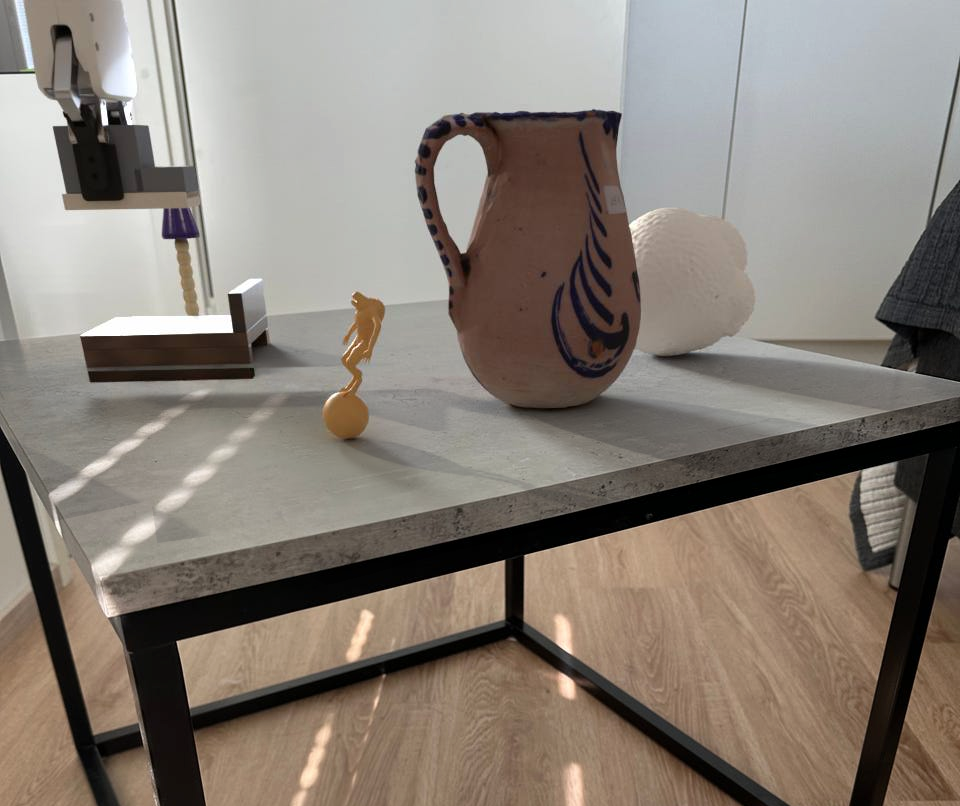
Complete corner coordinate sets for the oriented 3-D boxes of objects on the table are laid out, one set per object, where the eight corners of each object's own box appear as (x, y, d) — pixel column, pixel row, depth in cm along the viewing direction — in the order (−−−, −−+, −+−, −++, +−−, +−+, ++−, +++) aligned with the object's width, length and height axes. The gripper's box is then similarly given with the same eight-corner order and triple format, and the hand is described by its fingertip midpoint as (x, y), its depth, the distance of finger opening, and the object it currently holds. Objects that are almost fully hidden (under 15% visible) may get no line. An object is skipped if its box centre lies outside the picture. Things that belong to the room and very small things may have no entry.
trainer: (64, 210, 75) (47, 126, 72) (84, 206, 79) (68, 126, 76) (187, 208, 75) (175, 123, 72) (200, 204, 79) (189, 124, 76)
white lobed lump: (556, 352, 112) (559, 208, 105) (649, 333, 122) (658, 200, 115) (690, 378, 99) (704, 215, 91) (782, 353, 109) (802, 205, 102)
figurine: (316, 428, 84) (302, 288, 78) (380, 421, 86) (371, 283, 80) (335, 453, 77) (321, 301, 71) (404, 445, 79) (396, 296, 73)
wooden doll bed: (89, 382, 102) (71, 296, 98) (124, 360, 112) (108, 281, 108) (252, 379, 102) (241, 293, 98) (271, 357, 113) (262, 278, 108)
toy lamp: (173, 340, 123) (150, 203, 116) (205, 336, 126) (185, 201, 118) (188, 345, 120) (166, 204, 112) (221, 340, 123) (201, 202, 115)
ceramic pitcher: (672, 405, 89) (697, 105, 77) (482, 439, 80) (477, 105, 68) (569, 372, 102) (576, 113, 90) (396, 398, 93) (380, 113, 81)
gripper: (57, -53, 75) (104, 194, 84) (-41, -101, 61) (27, 206, 69) (149, -54, 76) (186, 193, 84) (73, -102, 61) (127, 204, 69)
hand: (114, 196), depth 77 cm, fingers closed on trainer, 4 cm apart
